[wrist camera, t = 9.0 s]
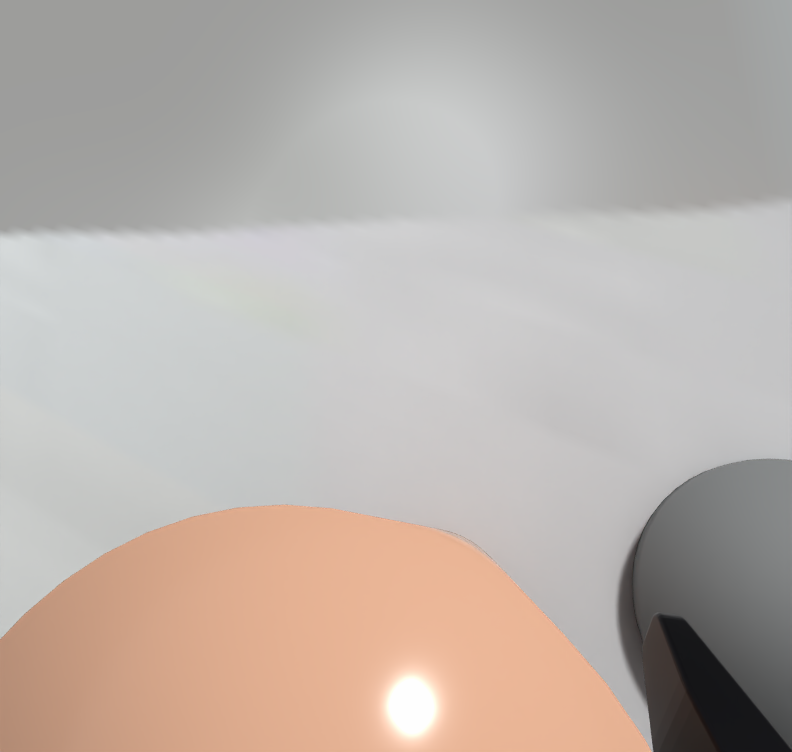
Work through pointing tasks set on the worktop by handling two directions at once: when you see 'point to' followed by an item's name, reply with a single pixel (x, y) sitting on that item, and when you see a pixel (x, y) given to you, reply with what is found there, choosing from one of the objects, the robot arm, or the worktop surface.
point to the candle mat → (728, 574)
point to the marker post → (299, 647)
